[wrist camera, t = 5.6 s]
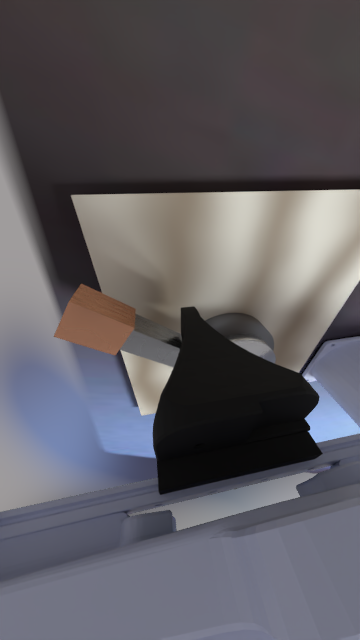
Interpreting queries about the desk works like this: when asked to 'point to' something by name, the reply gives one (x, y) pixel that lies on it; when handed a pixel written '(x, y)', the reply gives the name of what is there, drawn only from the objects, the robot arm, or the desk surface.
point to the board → (226, 265)
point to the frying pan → (131, 330)
